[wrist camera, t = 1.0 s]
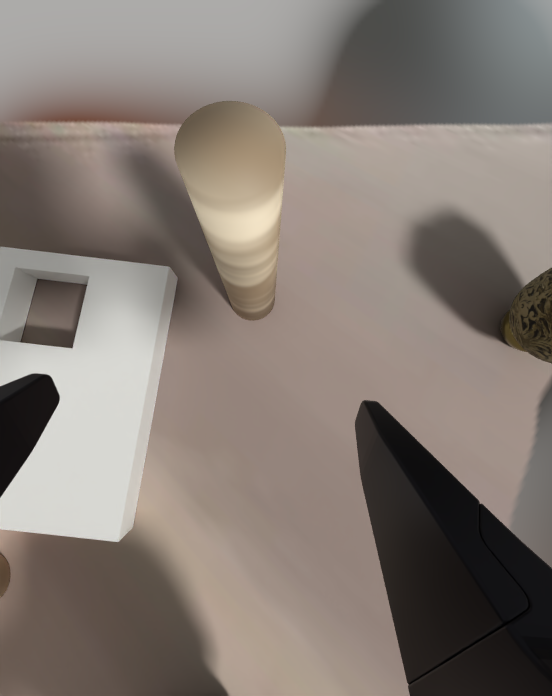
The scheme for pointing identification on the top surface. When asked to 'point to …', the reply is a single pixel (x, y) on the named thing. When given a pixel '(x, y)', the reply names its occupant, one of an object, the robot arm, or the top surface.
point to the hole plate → (86, 392)
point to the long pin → (237, 196)
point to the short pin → (4, 575)
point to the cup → (531, 319)
